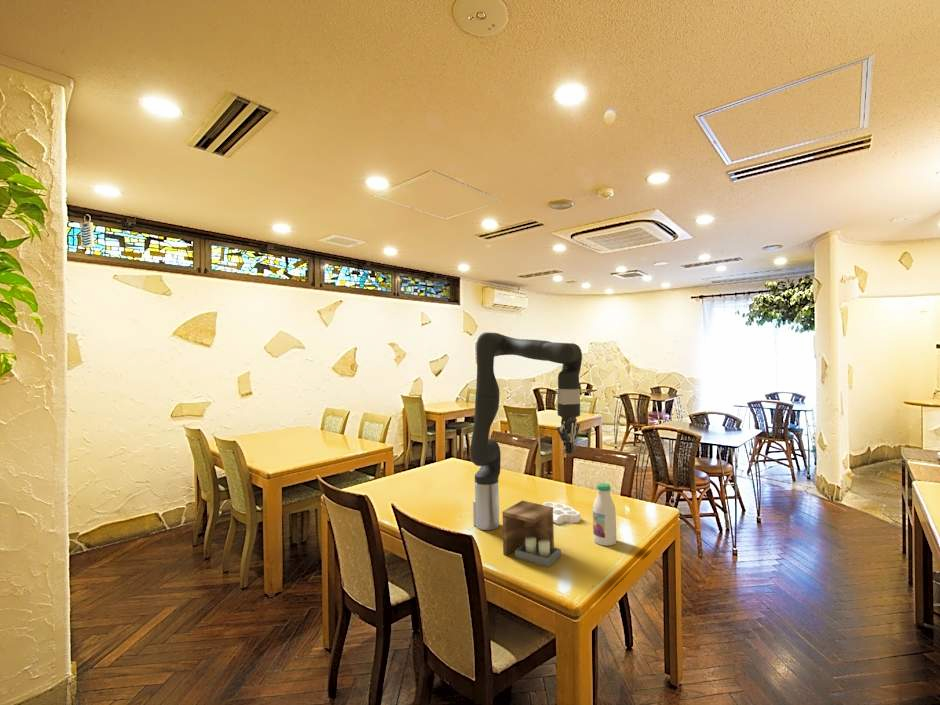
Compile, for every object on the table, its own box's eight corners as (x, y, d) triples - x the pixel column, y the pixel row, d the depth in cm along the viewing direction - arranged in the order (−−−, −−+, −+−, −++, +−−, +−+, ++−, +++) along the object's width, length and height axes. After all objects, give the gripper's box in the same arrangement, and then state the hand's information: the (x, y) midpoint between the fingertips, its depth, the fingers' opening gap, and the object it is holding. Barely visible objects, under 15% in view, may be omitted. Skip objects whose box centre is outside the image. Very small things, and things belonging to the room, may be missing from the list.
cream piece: (536, 558, 135) (536, 542, 135) (541, 553, 138) (541, 538, 138) (547, 561, 133) (546, 545, 133) (551, 556, 136) (551, 541, 136)
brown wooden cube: (503, 554, 139) (502, 511, 139) (523, 540, 149) (522, 500, 149) (535, 564, 132) (534, 519, 132) (553, 549, 142) (552, 507, 142)
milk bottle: (611, 536, 151) (610, 481, 151) (620, 546, 143) (618, 487, 144) (590, 537, 151) (589, 481, 151) (597, 546, 143) (596, 488, 143)
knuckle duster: (530, 514, 175) (554, 507, 183) (562, 528, 160) (587, 519, 168) (529, 506, 175) (554, 499, 183) (562, 519, 160) (587, 511, 168)
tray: (515, 558, 137) (514, 550, 137) (528, 548, 144) (528, 540, 144) (548, 569, 130) (548, 560, 130) (560, 557, 137) (560, 548, 137)
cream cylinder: (523, 554, 138) (523, 539, 138) (528, 550, 141) (528, 535, 141) (533, 557, 136) (532, 541, 136) (538, 553, 139) (538, 537, 139)
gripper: (567, 399, 149) (567, 448, 149) (549, 403, 139) (550, 455, 139) (587, 400, 145) (587, 450, 145) (570, 404, 134) (571, 458, 134)
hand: (569, 453), depth 142 cm, fingers closed
